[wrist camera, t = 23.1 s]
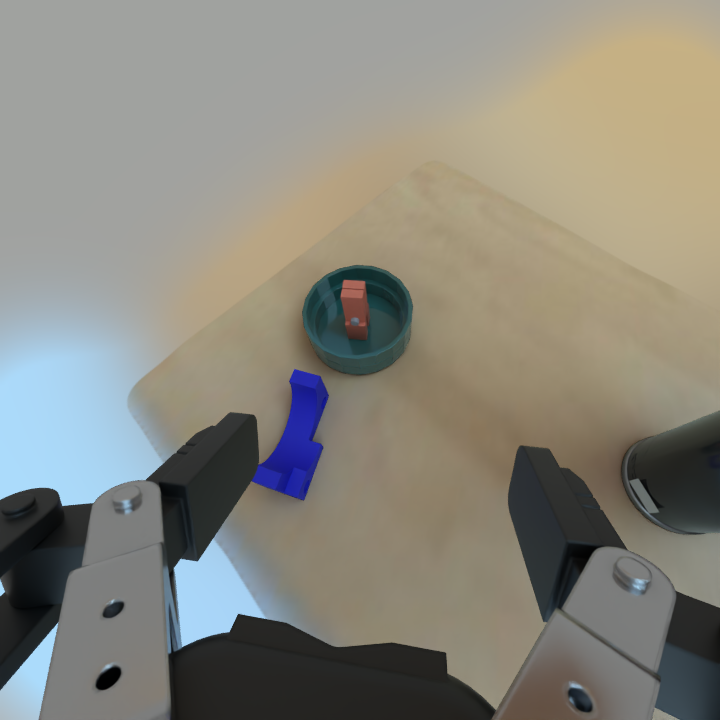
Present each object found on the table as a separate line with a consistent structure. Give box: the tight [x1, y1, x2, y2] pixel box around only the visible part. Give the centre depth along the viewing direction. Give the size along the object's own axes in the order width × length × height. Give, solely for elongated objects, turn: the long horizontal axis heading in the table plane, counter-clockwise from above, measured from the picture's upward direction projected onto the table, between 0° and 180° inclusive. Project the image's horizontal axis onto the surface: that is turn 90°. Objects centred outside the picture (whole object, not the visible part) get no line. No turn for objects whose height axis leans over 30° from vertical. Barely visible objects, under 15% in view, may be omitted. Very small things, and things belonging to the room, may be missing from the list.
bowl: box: [302, 265, 413, 375], centre depth 47 cm, size 13×13×5 cm
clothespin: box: [341, 280, 370, 340], centre depth 45 cm, size 2×3×8 cm
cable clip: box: [252, 369, 329, 500], centre depth 40 cm, size 12×4×6 cm, turn 162°
